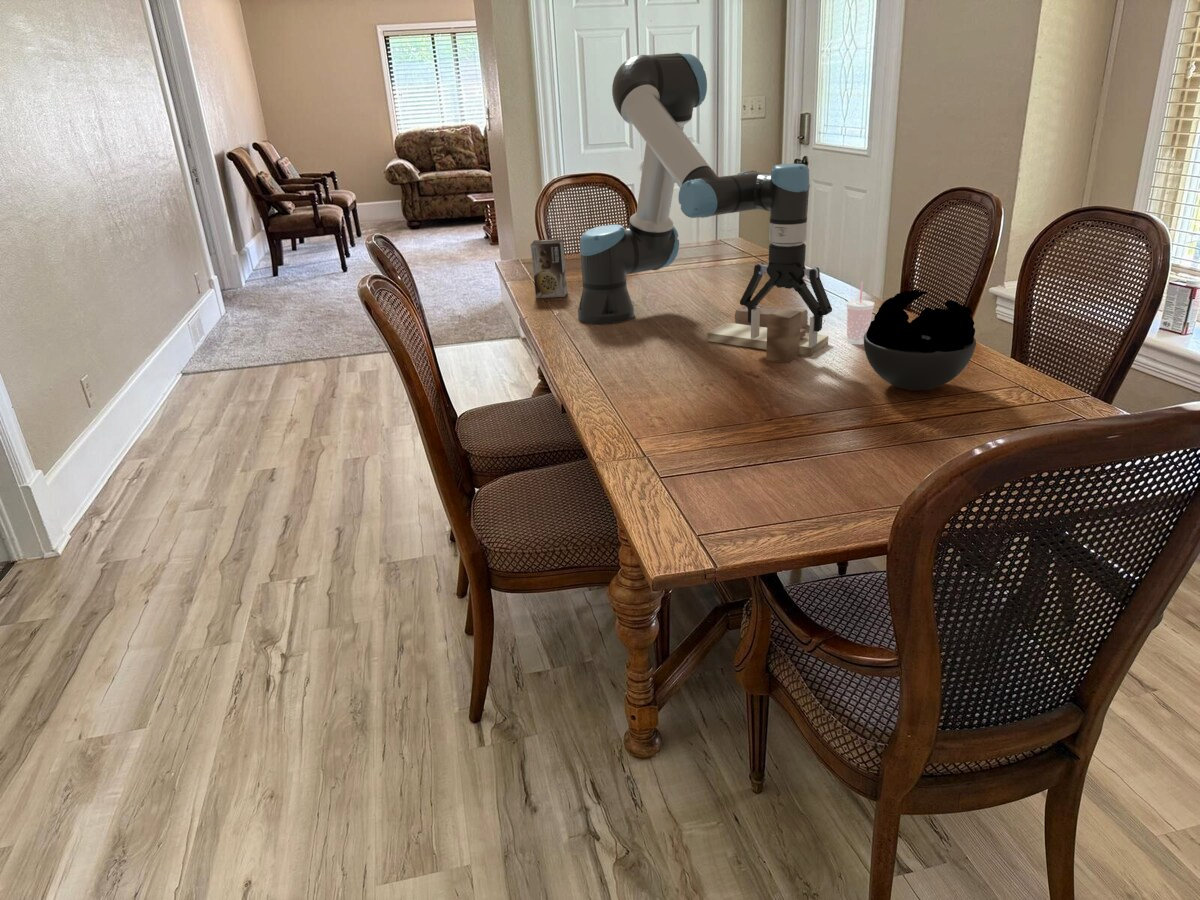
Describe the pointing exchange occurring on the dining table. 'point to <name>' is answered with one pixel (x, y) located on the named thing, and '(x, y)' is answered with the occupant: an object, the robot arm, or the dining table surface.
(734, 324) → the board
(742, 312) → the brick
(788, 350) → the brown block with handle
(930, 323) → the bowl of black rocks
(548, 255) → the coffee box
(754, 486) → the dining table surface
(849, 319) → the beverage cup
